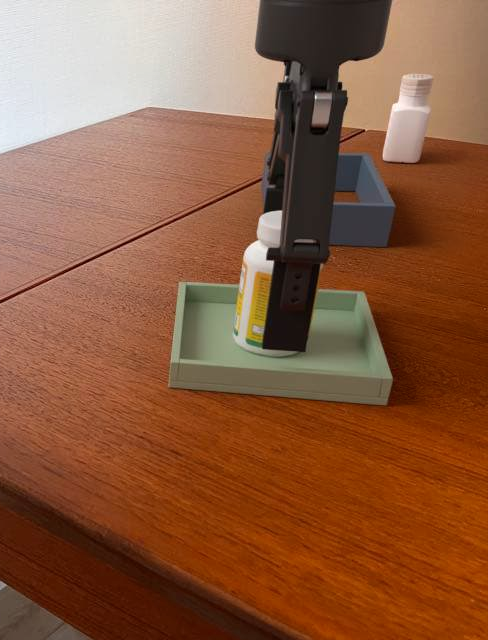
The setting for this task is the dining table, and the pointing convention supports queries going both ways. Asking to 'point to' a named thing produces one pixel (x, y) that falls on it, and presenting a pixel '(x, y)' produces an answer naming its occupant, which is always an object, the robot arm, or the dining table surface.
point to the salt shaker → (408, 120)
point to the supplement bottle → (259, 287)
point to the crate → (356, 218)
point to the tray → (279, 372)
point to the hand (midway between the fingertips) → (278, 306)
